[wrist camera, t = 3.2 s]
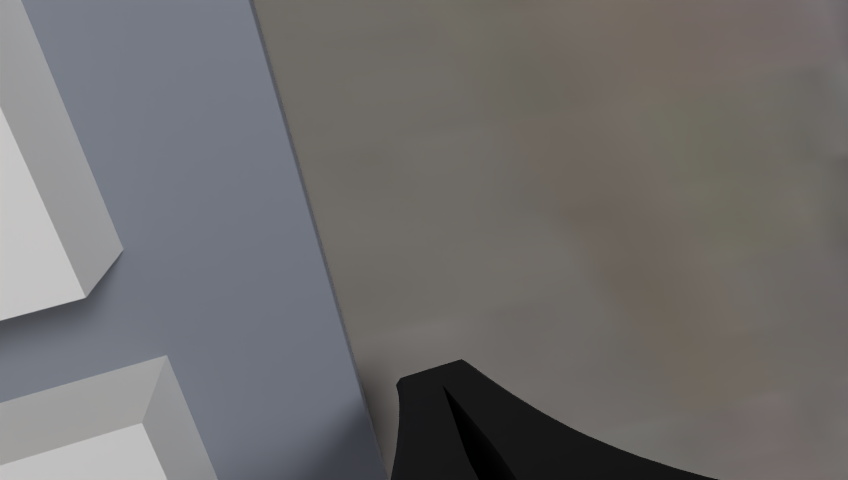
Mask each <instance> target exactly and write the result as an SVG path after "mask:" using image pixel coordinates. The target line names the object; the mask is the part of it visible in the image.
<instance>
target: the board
mask: <svg viewBox="0 0 848 480" xmlns="http://www.w3.org/2000/svg"><path fill="white" fill-rule="evenodd" d="M21 1H22V3H23V6H24V8H25V11H26V13H27V16H28V18H29V20H30V23H31V25H32V28H33V30H34V33H35V35H36V38H37V40H38V42H39V45H40V47H41V50H42V52H43V55H44V57H45V59H46V62H47V64H48V67H49V69H50V72H51V74H52V77H53V79H54V81H55V84H56V86H57V89H58V91H59V94H60V96H61V98H62V101H63V103H64V106H65V108H66V111H67V113H68V116H69V118H70V120H71V123H72V125H73V128H74V130H75V133H76V135H77V137H78V140H79V142H80V145H81V147H82V150H83V152H84V155H85V157H86V159H87V162H88V164H89V167H90V169H91V172H92V174H93V177H94V179H95V181H96V184H97V186H98V189H99V191H100V194H101V196H102V198H103V201H104V203H105V206H106V208H107V211H108V213H109V216H110V218H111V220H112V223H113V225H114V228H115V230H116V233H117V235H118V237H119V240H120V242H121V245H122V247H123V251H122V252H121V254H120V255H119V256H118V257H117V259H116V260H115V261H114V263H113V264H112V265H111V266H110V268H109V269H108V270H107V271H106V273H105V274H104V275H103V277H102V278H101V279H100V280H99V282H98V283H97V284H96V286H95V287H94V288H93V289H92V291H91V292H90V293H89V294H88V296H87V297H86V298H83V299H80V300H76V301H72V302H68V303H65V304H61V305H57V306H53V307H50V308H46V309H42V310H38V311H35V312H31V313H27V314H23V315H20V316H16V317H12V318H8V319H5V320H1V321H0V403H2V402H5V401H9V400H12V399H16V398H19V397H23V396H26V395H30V394H33V393H37V392H40V391H44V390H47V389H51V388H54V387H58V386H61V385H65V384H68V383H72V382H75V381H79V380H82V379H85V378H89V377H92V376H96V375H99V374H103V373H106V372H110V371H113V370H117V369H120V368H124V367H127V366H131V365H134V364H138V363H141V362H145V361H148V360H152V359H155V358H159V357H162V356H166V355H167V357H168V359H169V362H170V364H171V367H172V369H173V372H174V374H175V376H176V379H177V381H178V384H179V386H180V389H181V391H182V393H183V396H184V398H185V401H186V403H187V406H188V408H189V411H190V413H191V415H192V418H193V420H194V423H195V425H196V428H197V430H198V432H199V435H200V437H201V440H202V442H203V445H204V447H205V450H206V452H207V454H208V457H209V459H210V462H211V464H212V467H213V469H214V471H215V474H216V476H217V479H218V480H388V478H387V474H386V470H385V466H384V463H383V459H382V455H381V452H380V448H379V445H378V441H377V438H376V434H375V431H374V427H373V424H372V420H371V417H370V413H369V409H368V406H367V402H366V399H365V395H364V392H363V388H362V385H361V381H360V378H359V374H358V371H357V367H356V363H355V360H354V356H353V353H352V349H351V346H350V342H349V339H348V335H347V332H346V328H345V324H344V321H343V317H342V314H341V310H340V307H339V303H338V300H337V296H336V293H335V289H334V286H333V282H332V278H331V275H330V271H329V268H328V264H327V261H326V257H325V254H324V250H323V247H322V243H321V240H320V236H319V232H318V229H317V225H316V222H315V218H314V215H313V211H312V208H311V204H310V201H309V197H308V194H307V190H306V186H305V183H304V179H303V176H302V172H301V169H300V165H299V162H298V158H297V155H296V151H295V147H294V144H293V140H292V137H291V133H290V130H289V126H288V123H287V119H286V116H285V112H284V109H283V105H282V101H281V98H280V94H279V91H278V87H277V84H276V80H275V77H274V73H273V70H272V66H271V63H270V59H269V55H268V52H267V48H266V45H265V41H264V38H263V34H262V31H261V27H260V24H259V20H258V17H257V13H256V9H255V6H254V2H253V0H21Z"/></svg>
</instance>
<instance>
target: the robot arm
mask: <svg viewBox="0 0 848 480" xmlns="http://www.w3.org/2000/svg"><path fill="white" fill-rule="evenodd" d="M396 387H397V390H398V394H399V429H398V438H397V448H396V455H395V460H394V466H393V471H392V476H391V480H718V479H713V478H709V477H705V476H702V475H698V474H694V473H691V472H687V471H683V470H680V469H676V468H673V467H670V466H667V465H664V464H661V463H658V462H655V461H652V460H649V459H646V458H642V457H639V456H637V455H634V454H631V453H629V452H626V451H623V450H620V449H618V448H616V447H613V446H611V445H608V444H606V443H604V442H601V441H599V440H597V439H594V438H592V437H589V436H587V435H585V434H583V433H581V432H578V431H576V430H574V429H572V428H570V427H568V426H566V425H564V424H563V423H561V422H559V421H557V420H555V419H553V418H551V417H550V416H548V415H546V414H544V413H543V412H541V411H539V410H537V409H536V408H534V407H532V406H531V405H529V404H528V403H526V402H524V401H523V400H521V399H519V398H518V397H516V396H515V395H513V394H511V393H510V392H508V391H507V390H505V389H504V388H502V387H501V386H500V385H498V384H497V383H495V382H494V381H492V380H491V379H489V378H488V377H487V376H485V375H484V374H482V373H481V372H480V371H478V370H477V369H476V368H474V367H473V366H471V365H470V364H469V363H467V362H465V361H464V360H462V359H461V360H457V361H454V362H451V363H448V364H444V365H441V366H438V367H435V368H432V369H428V370H425V371H422V372H419V373H415V374H412V375H409V376H406V377H403V378H400V380H399V381H398V383H397V384H396Z"/></svg>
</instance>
